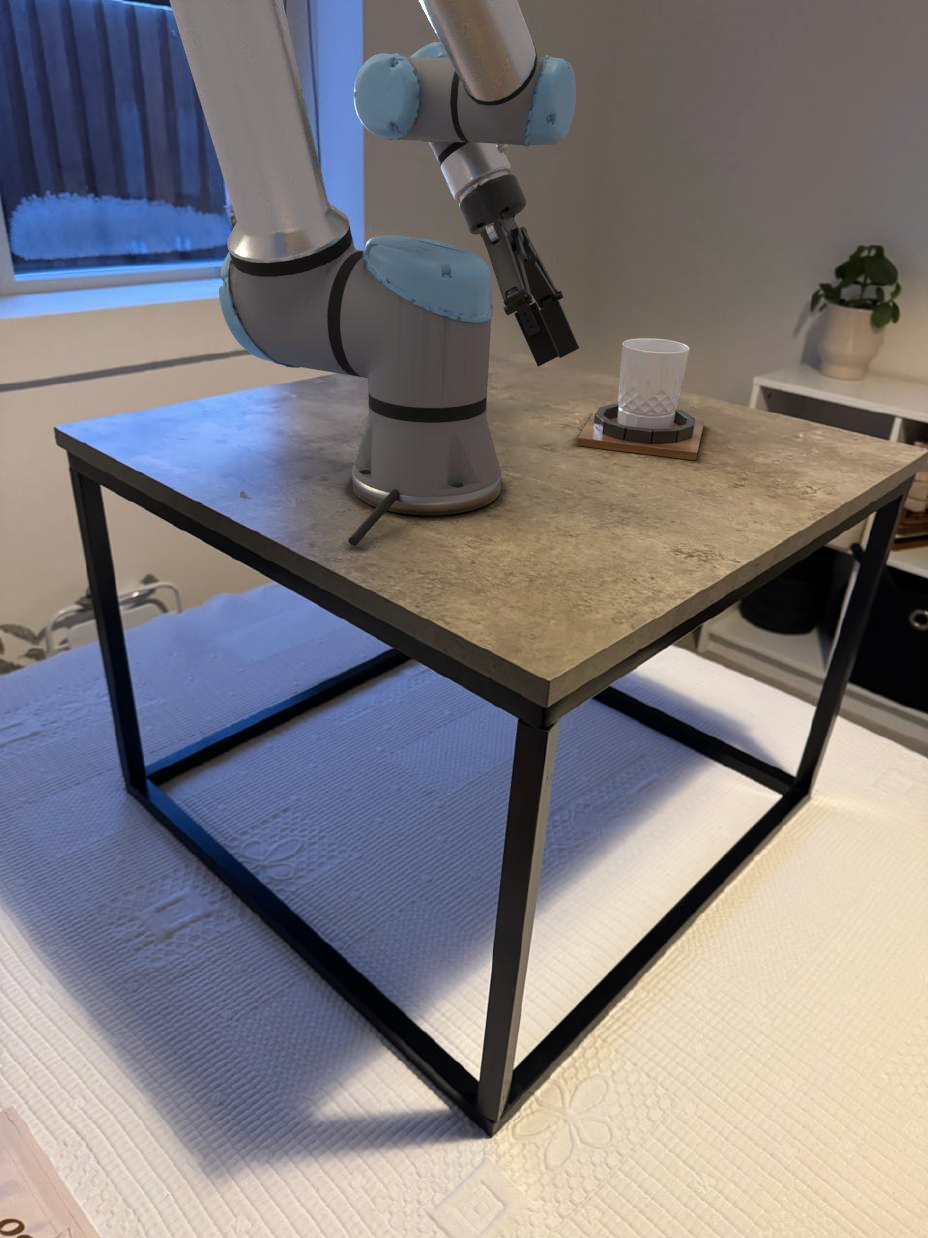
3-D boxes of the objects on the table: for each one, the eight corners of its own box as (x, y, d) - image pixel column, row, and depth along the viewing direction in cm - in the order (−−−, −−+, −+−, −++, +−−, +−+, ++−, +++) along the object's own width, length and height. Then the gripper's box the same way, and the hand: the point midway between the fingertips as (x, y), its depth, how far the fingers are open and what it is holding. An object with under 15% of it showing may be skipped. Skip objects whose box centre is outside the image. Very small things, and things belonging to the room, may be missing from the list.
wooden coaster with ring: (695, 460, 99) (699, 439, 98) (576, 445, 103) (578, 425, 101) (703, 427, 111) (706, 407, 110) (596, 414, 114) (598, 395, 113)
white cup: (643, 415, 111) (654, 335, 106) (689, 431, 106) (703, 348, 101) (599, 424, 107) (608, 341, 102) (645, 441, 102) (657, 355, 97)
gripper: (484, 155, 88) (569, 349, 93) (535, 182, 111) (602, 337, 115) (423, 194, 91) (508, 380, 96) (485, 213, 114) (552, 362, 118)
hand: (560, 357), depth 105 cm, fingers open, 13 cm apart
